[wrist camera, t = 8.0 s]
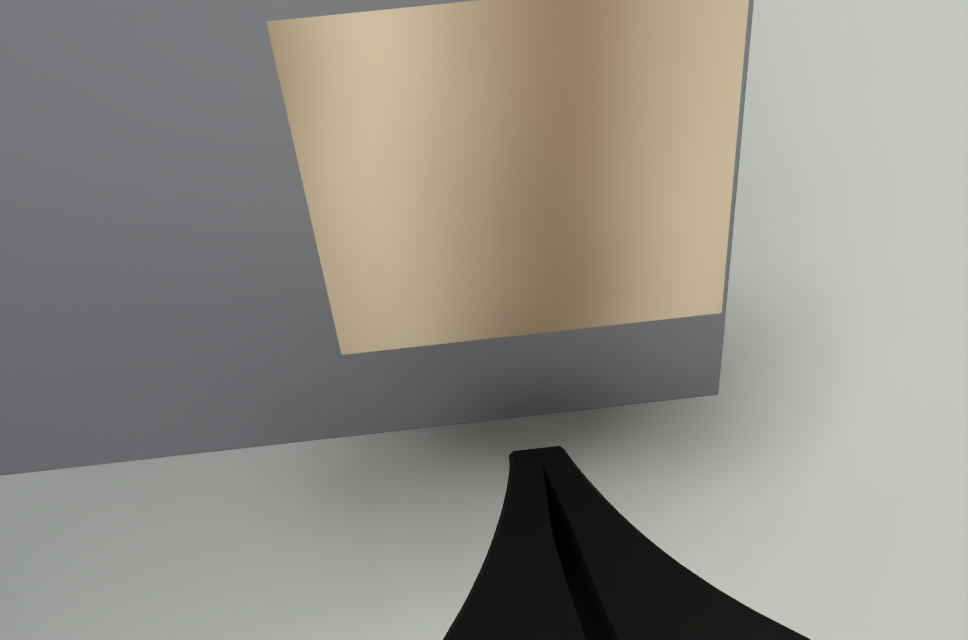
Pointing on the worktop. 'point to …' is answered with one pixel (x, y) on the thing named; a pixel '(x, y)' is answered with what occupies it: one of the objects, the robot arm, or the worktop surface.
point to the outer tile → (515, 163)
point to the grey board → (227, 259)
